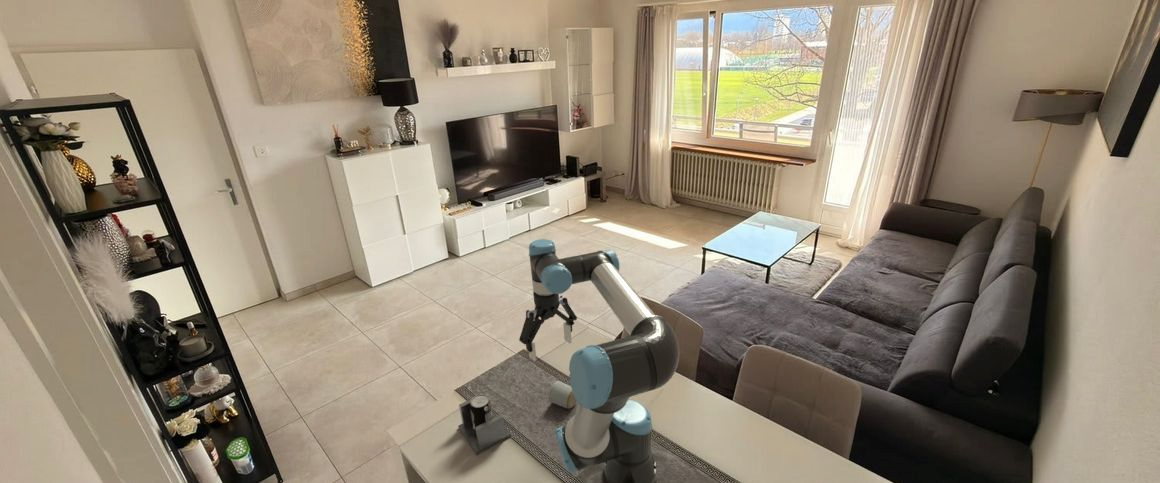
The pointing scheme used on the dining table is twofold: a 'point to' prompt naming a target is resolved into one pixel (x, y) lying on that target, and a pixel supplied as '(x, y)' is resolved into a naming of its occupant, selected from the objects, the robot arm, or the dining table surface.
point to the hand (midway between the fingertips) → (551, 350)
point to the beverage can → (480, 410)
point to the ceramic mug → (562, 395)
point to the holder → (482, 429)
